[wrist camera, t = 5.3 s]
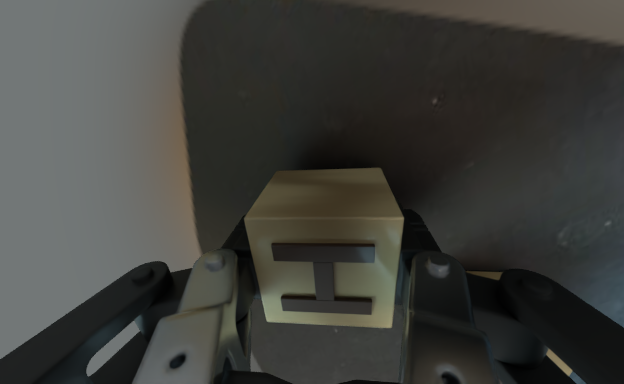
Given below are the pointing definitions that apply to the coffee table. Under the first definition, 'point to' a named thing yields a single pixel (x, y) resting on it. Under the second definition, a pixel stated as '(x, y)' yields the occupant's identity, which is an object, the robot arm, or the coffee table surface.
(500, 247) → the coffee table surface
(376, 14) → the coffee table surface
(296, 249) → the light wooden cube
